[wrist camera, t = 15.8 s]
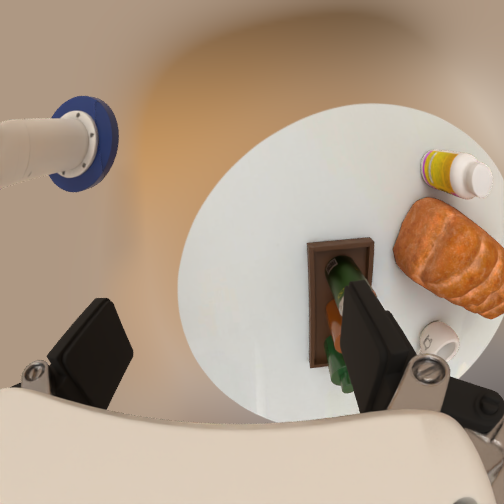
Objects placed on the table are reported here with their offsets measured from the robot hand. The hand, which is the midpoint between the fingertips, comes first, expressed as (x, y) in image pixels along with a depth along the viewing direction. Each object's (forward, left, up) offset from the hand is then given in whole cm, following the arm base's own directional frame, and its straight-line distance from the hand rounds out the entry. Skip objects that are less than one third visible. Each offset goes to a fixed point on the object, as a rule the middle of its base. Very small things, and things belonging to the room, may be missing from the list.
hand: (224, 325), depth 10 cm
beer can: (+12, -14, -31) cm, 36 cm away
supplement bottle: (+30, +2, -32) cm, 44 cm away
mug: (+34, -34, -32) cm, 58 cm away
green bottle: (+12, -30, -31) cm, 45 cm away
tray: (+12, -22, -32) cm, 40 cm away
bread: (+35, -13, -32) cm, 49 cm away
